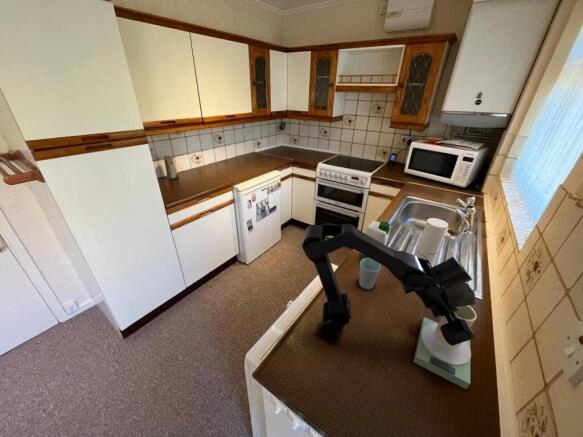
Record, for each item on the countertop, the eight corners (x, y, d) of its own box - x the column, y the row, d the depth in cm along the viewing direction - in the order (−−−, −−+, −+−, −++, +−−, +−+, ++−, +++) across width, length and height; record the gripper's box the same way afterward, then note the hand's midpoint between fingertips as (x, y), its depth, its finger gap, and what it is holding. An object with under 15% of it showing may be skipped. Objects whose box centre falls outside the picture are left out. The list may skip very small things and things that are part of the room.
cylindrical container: (430, 279, 99) (451, 228, 87) (412, 276, 100) (430, 226, 88) (426, 268, 105) (444, 219, 93) (408, 266, 106) (424, 217, 94)
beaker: (452, 354, 66) (469, 325, 60) (429, 336, 71) (442, 307, 65) (463, 342, 70) (481, 313, 64) (440, 325, 74) (454, 297, 68)
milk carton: (377, 268, 105) (386, 230, 95) (358, 260, 110) (365, 222, 100) (384, 259, 111) (394, 221, 101) (366, 251, 116) (373, 215, 106)
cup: (378, 291, 93) (383, 271, 88) (358, 291, 93) (362, 270, 88) (373, 278, 99) (377, 258, 94) (354, 277, 100) (358, 257, 95)
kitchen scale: (466, 389, 63) (471, 382, 61) (413, 362, 69) (416, 355, 68) (466, 342, 75) (471, 335, 73) (421, 322, 81) (424, 315, 79)
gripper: (482, 309, 51) (513, 347, 56) (444, 255, 67) (471, 288, 72) (432, 328, 56) (464, 361, 60) (408, 274, 72) (435, 303, 76)
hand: (459, 325), depth 67 cm, fingers closed on beaker, 7 cm apart
